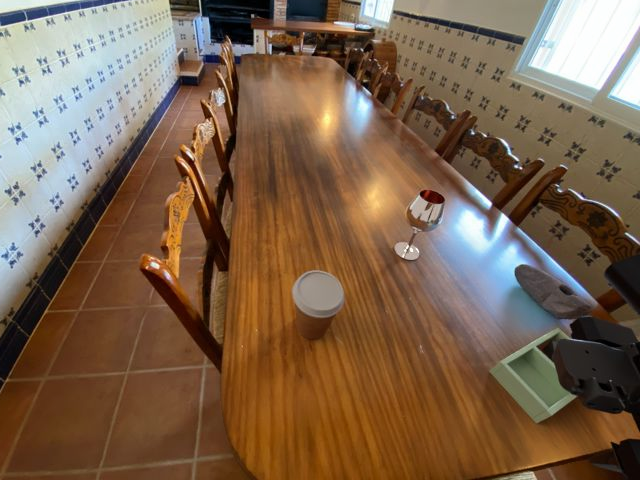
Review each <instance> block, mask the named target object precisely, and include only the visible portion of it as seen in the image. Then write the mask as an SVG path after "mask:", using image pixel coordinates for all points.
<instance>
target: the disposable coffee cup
mask: <svg viewBox="0 0 640 480" xmlns="http://www.w3.org/2000/svg"><path fill="white" fill-rule="evenodd" d="M291 293H292V295H291V296H292V299H293V302H294V308H295V309H294V310H295V311H294V312H295V323H296V324H295V325H296V329H297V331H298V333H299V334H300V335H301V336H302V337H304V338H306V339H308V340H319V339H320V338H321V339H322V337H324V336H325V334H326V332H327V331H328V329H329V327H330V326H331V324H332V322H333V320H334V318H335V317H336V315H337V313H339V312H340V311H341V310H342V309H343V307H344V304H345V300H346V295H345V289H344V288H343V285H342V283H341V282H340V280H339V279H338V278H337V277H336V276H335V275H334V274H332V273H329V272H328V271H324V270H317V269H313V270H309V271H306V272H304V273H302V275H300V276H299V277H298V278H297V279H296V281H295V282H294V284H293V286H292V291H291Z"/></svg>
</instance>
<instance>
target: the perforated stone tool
mask: <svg viewBox="0 0 640 480" xmlns="http://www.w3.org/2000/svg"><path fill="white" fill-rule="evenodd" d="M514 277H515V279H516V282H517V283H518V285H519V286H520V287H521V288H522V290H524V291H525V292H526V293H527V294H528V296H529V297H530V298H531V299H533V301H535V303H537V304H538V306H540V308H542V309H543V310H545V311H547V312H549V313H550V314H551V315H552V316H553V317H554V318H555V319H556V320H576V319H577V318H579V317H581V316H589V314H590V313H592V312H593V311H594V308H593V307H592V305H591V304H590V303H588V301H586V300H585V299H584V298H583V297H582V296H581V295H579V294H578V292H576V291H575V290H573V289H572V288H571V287H570V286H568V285H567V284H566V283H564V282H562V281H561V280H559V279H558V278H557V277H554V276H553V275H551V274H549V273H548V272H546V271H545V270H542V269H541V268H538V267H537V266H534V265H530V264H527V263H525V264H524V263H521V264H519V265H517V266H515V268H514Z"/></svg>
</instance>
